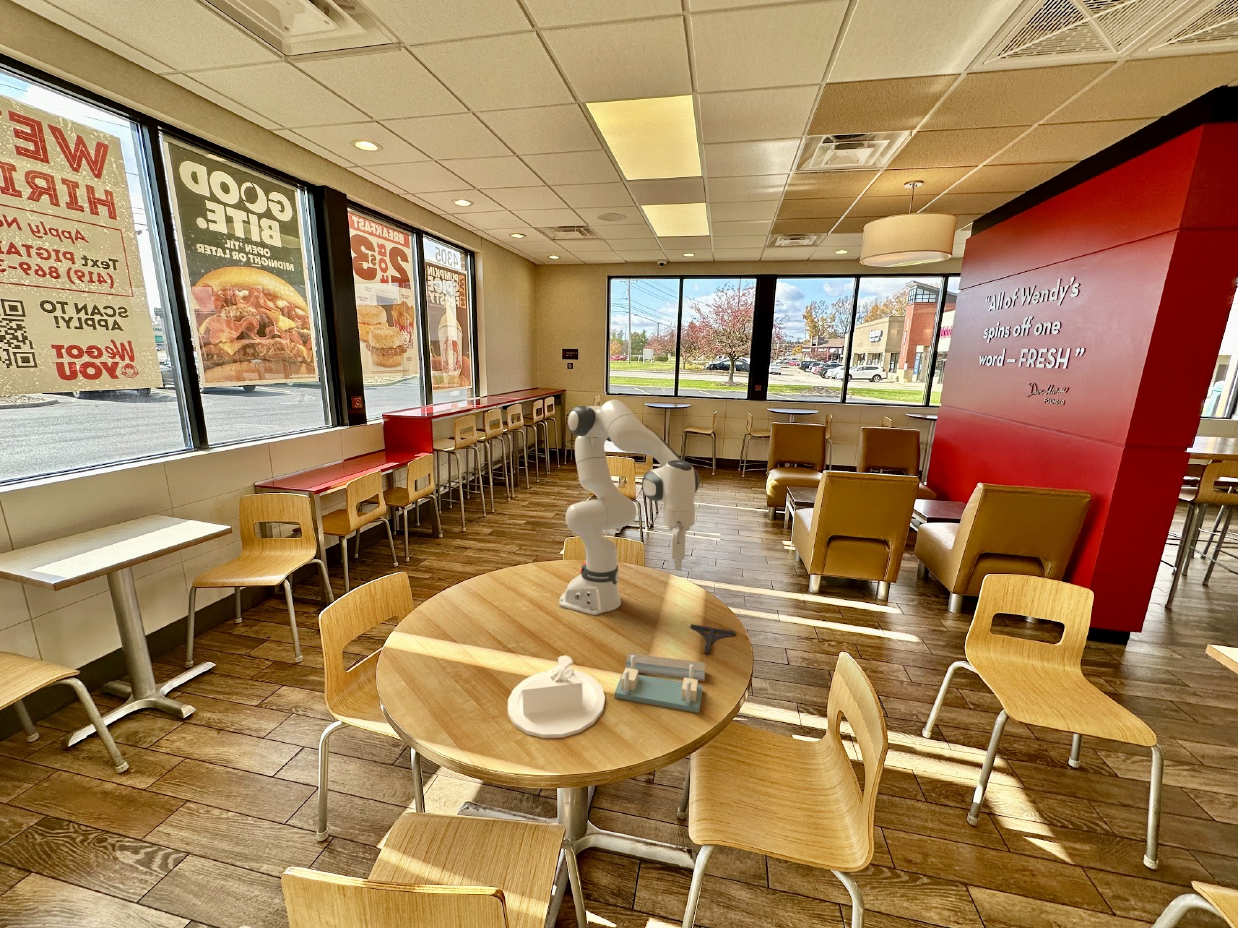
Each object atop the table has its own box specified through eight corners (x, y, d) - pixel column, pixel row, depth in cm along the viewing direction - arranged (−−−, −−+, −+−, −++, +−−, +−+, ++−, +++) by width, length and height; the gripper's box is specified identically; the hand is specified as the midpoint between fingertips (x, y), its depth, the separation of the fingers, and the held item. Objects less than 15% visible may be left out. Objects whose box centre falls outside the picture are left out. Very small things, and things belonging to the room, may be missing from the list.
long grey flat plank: (625, 672, 141) (626, 661, 140) (628, 663, 145) (628, 653, 144) (704, 682, 137) (704, 670, 136) (704, 673, 140) (705, 662, 140)
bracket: (682, 651, 151) (683, 643, 151) (691, 627, 165) (691, 619, 164) (730, 661, 147) (731, 652, 146) (735, 635, 161) (735, 627, 160)
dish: (576, 663, 145) (576, 628, 142) (622, 714, 124) (623, 674, 122) (494, 692, 132) (492, 654, 129) (531, 755, 111) (529, 711, 109)
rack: (614, 697, 130) (614, 672, 128) (622, 676, 138) (623, 652, 136) (699, 712, 124) (700, 686, 123) (702, 690, 133) (703, 665, 131)
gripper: (690, 528, 131) (689, 577, 134) (690, 508, 151) (689, 551, 154) (666, 528, 132) (666, 576, 135) (669, 507, 152) (668, 550, 154)
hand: (678, 563), depth 144 cm, fingers open, 8 cm apart
